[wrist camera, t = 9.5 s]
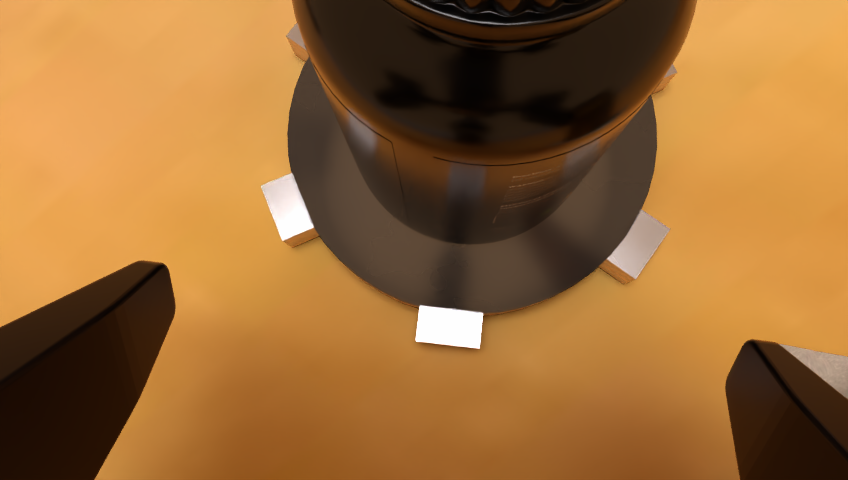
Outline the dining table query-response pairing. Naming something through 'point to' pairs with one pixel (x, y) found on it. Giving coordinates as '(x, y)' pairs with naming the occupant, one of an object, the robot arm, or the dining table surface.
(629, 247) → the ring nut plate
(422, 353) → the dining table surface
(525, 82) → the supplement bottle
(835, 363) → the condiment
